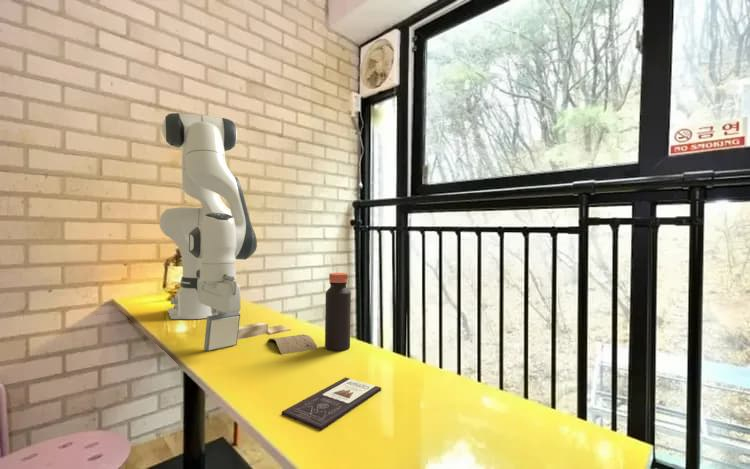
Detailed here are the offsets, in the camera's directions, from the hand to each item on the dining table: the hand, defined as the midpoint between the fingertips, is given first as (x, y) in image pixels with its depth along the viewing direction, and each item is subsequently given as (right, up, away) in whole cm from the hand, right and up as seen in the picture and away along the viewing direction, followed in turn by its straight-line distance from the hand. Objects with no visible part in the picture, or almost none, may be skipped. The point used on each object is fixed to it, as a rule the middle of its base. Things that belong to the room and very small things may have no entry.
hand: (218, 324), depth 99 cm
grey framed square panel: (+1, -6, -1) cm, 6 cm away
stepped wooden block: (+8, -6, +13) cm, 16 cm away
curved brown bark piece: (+19, -7, +2) cm, 21 cm away
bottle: (+32, -7, +1) cm, 33 cm away
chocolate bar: (+35, -7, -31) cm, 47 cm away
